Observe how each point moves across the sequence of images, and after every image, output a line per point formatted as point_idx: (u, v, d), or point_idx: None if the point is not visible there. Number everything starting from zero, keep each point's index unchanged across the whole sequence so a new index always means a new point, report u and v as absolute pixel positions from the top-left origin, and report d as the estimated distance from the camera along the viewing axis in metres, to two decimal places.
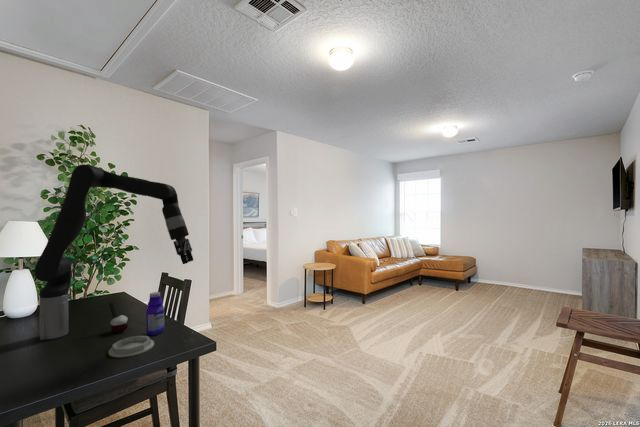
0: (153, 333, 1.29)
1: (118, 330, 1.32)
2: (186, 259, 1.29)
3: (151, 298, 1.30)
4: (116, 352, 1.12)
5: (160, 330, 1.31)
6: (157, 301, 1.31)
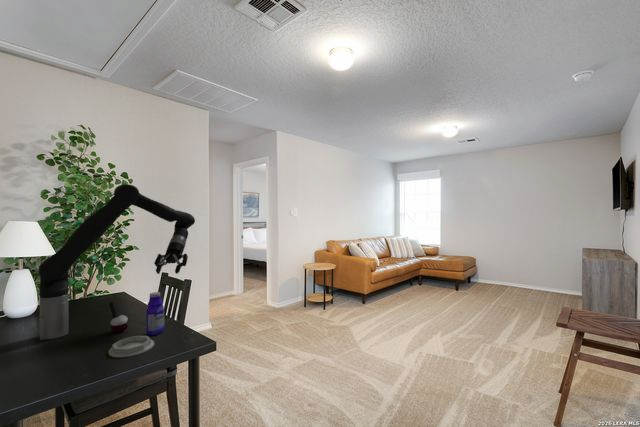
0: (153, 333, 1.29)
1: (118, 330, 1.32)
2: None
3: (151, 298, 1.30)
4: (116, 352, 1.12)
5: (160, 330, 1.31)
6: (157, 301, 1.31)
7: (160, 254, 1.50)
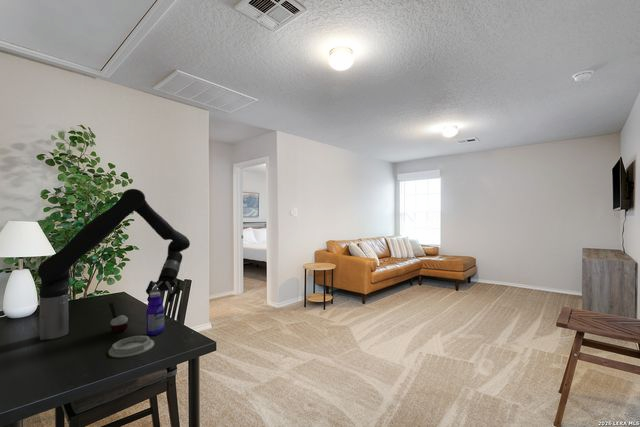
0: (153, 333, 1.29)
1: (118, 330, 1.32)
2: (171, 299, 1.38)
3: (151, 298, 1.30)
4: (116, 352, 1.12)
5: (160, 330, 1.31)
6: (157, 301, 1.31)
7: (152, 281, 1.42)
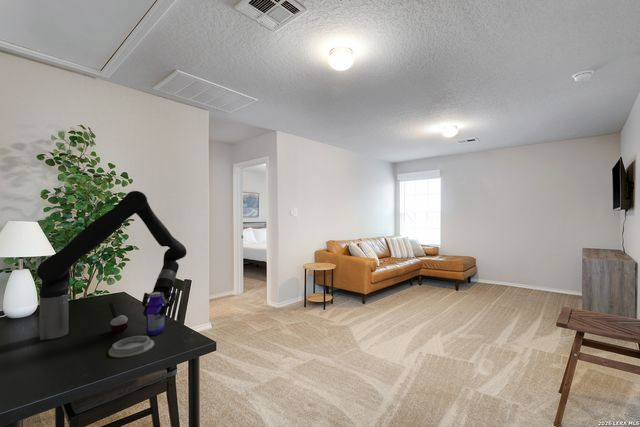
0: (153, 333, 1.29)
1: (118, 330, 1.32)
2: None
3: (151, 298, 1.30)
4: (116, 352, 1.12)
5: (160, 330, 1.31)
6: (157, 301, 1.31)
7: (146, 293, 1.36)
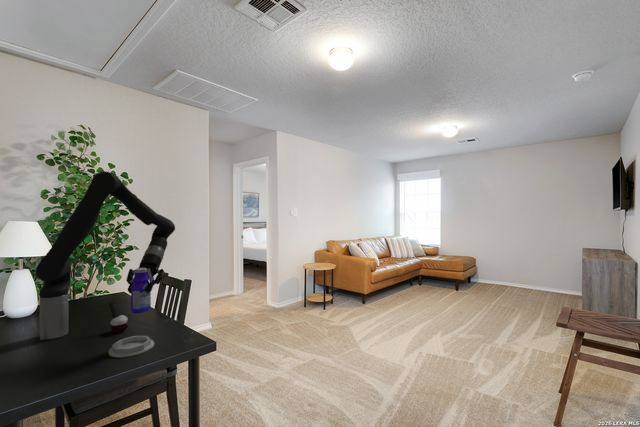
0: (138, 311, 1.20)
1: (118, 330, 1.32)
2: None
3: (137, 274, 1.21)
4: (116, 352, 1.12)
5: (145, 309, 1.22)
6: (143, 277, 1.22)
7: None
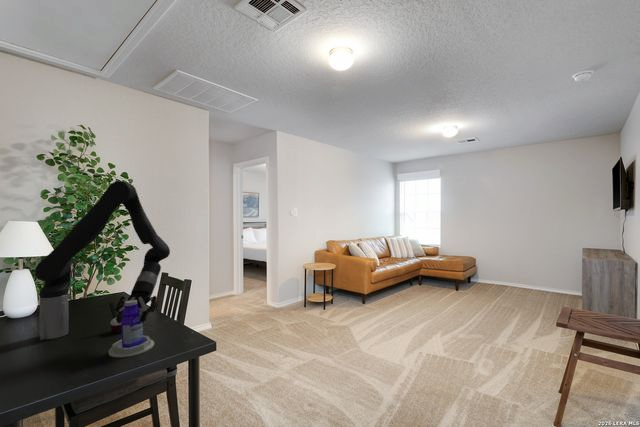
0: (129, 346, 1.15)
1: (118, 330, 1.32)
2: None
3: (126, 307, 1.16)
4: (116, 352, 1.12)
5: (137, 343, 1.17)
6: (133, 309, 1.17)
7: (123, 297, 1.22)
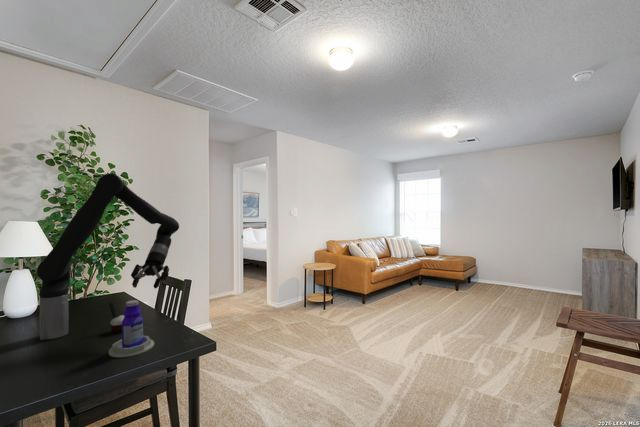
0: None
1: (118, 330, 1.32)
2: None
3: (127, 307, 1.16)
4: (116, 352, 1.12)
5: (137, 343, 1.17)
6: (134, 310, 1.16)
7: (138, 265, 1.35)
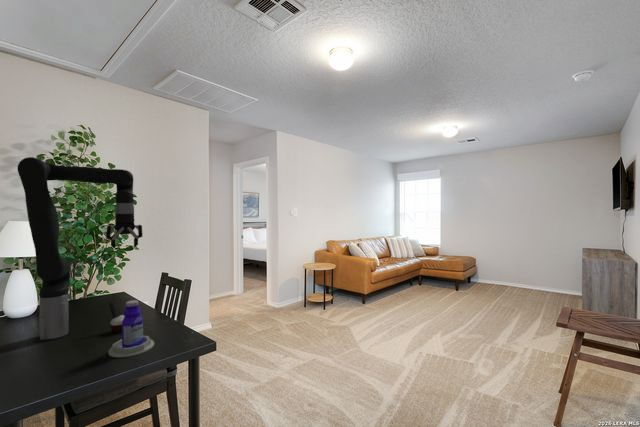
0: None
1: (118, 330, 1.32)
2: None
3: (127, 307, 1.16)
4: (116, 352, 1.12)
5: (137, 343, 1.17)
6: (134, 310, 1.16)
7: (110, 226, 1.38)
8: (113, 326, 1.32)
